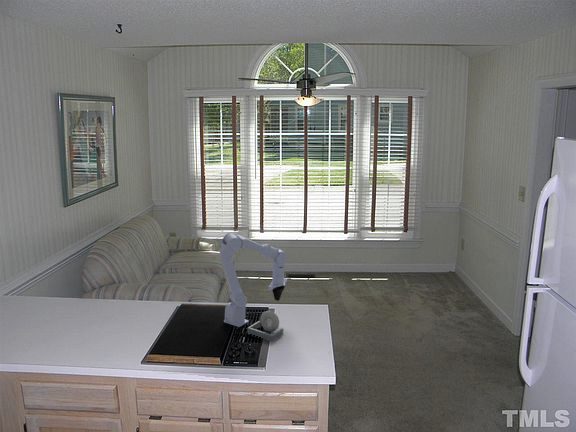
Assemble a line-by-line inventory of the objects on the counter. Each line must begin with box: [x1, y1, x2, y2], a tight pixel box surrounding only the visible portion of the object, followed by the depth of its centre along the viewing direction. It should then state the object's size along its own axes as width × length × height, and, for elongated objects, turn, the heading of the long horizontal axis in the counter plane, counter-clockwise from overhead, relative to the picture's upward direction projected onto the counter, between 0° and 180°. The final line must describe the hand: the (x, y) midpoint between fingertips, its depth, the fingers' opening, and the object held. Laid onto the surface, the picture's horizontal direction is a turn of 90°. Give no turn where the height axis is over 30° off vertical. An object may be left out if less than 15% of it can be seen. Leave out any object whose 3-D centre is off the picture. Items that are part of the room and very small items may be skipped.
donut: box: [259, 310, 280, 333], centre depth 237 cm, size 10×4×10 cm, turn 60°
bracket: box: [247, 320, 284, 343], centre depth 235 cm, size 14×9×3 cm
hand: (277, 299), depth 251 cm, fingers closed
